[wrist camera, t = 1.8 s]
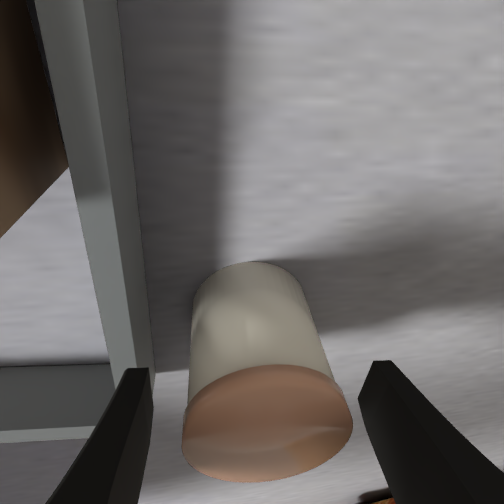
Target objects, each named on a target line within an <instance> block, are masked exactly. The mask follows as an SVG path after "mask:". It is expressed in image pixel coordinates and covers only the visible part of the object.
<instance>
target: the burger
mask: <svg viewBox="0 0 504 504" xmlns="http://www.w3.org/2000/svg"><path fill="white" fill-rule="evenodd" d="M371 504H395V501H394V499H393V498H389V499H386V500H382V501H378V502H375V503H371Z"/></svg>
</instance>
